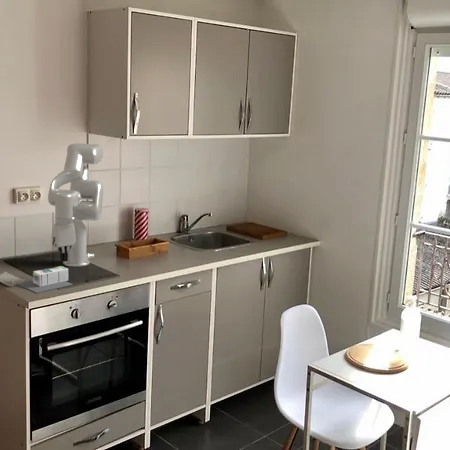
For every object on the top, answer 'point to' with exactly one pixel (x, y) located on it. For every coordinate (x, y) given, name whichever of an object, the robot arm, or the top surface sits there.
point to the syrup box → (50, 276)
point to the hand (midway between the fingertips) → (64, 260)
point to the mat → (38, 289)
